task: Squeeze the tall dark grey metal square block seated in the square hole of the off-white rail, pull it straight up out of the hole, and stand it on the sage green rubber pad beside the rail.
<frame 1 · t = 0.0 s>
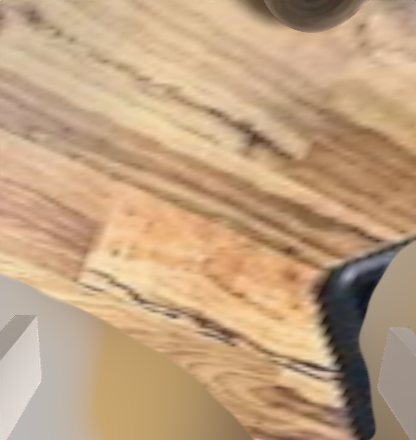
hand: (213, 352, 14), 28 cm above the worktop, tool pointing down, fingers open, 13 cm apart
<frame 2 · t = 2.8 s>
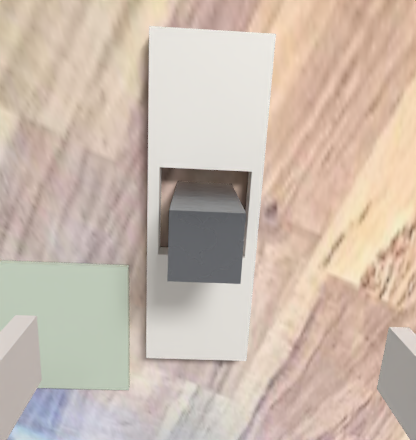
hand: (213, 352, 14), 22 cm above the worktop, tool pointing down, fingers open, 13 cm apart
pad: (60, 326, 39), on the worktop
rail: (203, 208, 36), on the worktop
square block: (204, 224, 31), in the rail
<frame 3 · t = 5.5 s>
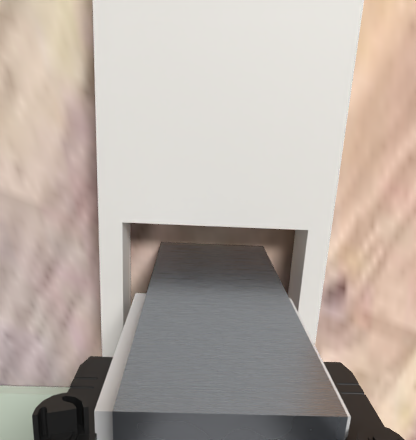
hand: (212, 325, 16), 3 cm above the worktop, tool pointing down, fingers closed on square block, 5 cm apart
rail: (209, 290, 19), on the worktop
square block: (214, 357, 14), in the rail, touching gripper
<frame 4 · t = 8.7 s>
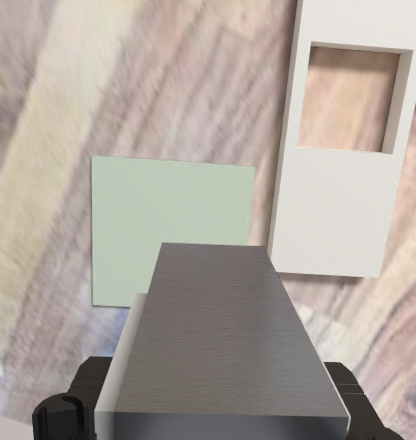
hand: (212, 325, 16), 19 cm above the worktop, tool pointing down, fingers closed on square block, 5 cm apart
pad: (170, 237, 35), on the worktop
rail: (344, 101, 32), on the worktop
square block: (215, 357, 14), point 21 cm above the worktop, touching gripper
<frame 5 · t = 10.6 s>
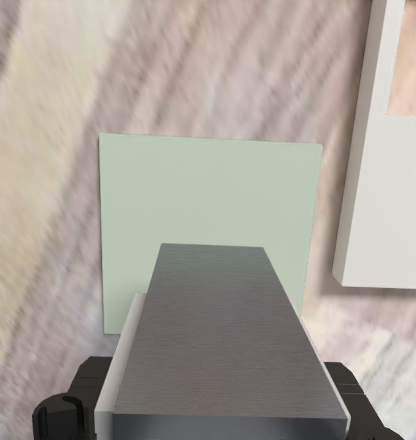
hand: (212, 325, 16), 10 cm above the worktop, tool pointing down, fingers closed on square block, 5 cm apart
pad: (206, 242, 26), on the worktop
square block: (214, 358, 14), point 13 cm above the worktop, touching gripper
when the fingers open (5 cm above the worktop, at t = 12.2 s): square block drops 1 cm, resting on pad.
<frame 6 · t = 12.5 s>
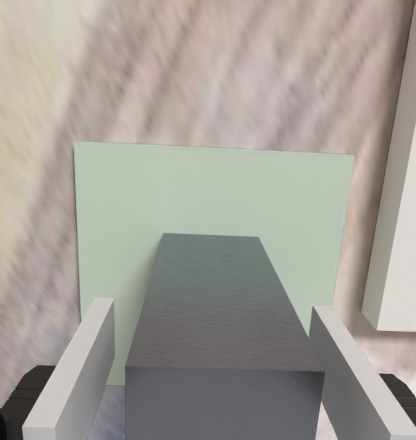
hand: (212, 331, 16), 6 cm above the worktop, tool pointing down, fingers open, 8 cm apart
pad: (208, 274, 21), on the worktop
square block: (212, 334, 15), on the pad, point 6 cm above the worktop
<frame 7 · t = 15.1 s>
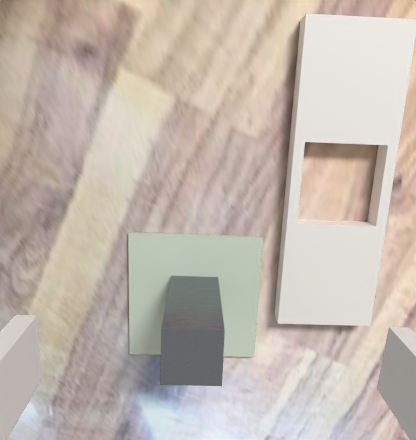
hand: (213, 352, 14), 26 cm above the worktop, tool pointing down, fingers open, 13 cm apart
pad: (194, 295, 42), on the worktop
rail: (334, 182, 39), on the worktop
square block: (193, 323, 36), on the pad, point 6 cm above the worktop
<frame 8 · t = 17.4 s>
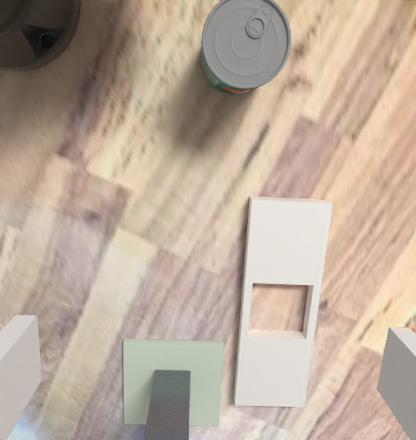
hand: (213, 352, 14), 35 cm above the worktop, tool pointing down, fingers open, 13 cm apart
pad: (172, 382, 55), on the worktop
canned tomato: (234, 59, 44), on the worktop
rail: (277, 304, 52), on the worktop
square block: (169, 413, 49), on the pad, point 6 cm above the worktop
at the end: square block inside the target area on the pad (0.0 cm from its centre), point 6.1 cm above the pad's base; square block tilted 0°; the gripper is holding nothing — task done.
